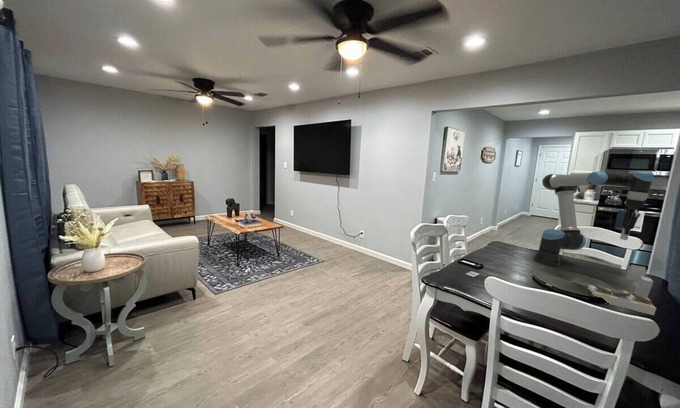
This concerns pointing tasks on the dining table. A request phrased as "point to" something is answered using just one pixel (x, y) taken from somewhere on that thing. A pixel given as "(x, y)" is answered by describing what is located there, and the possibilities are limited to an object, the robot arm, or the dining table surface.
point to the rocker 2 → (620, 292)
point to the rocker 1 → (603, 289)
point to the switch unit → (624, 301)
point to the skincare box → (643, 286)
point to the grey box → (635, 273)
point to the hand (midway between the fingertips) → (623, 239)
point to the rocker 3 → (642, 298)
